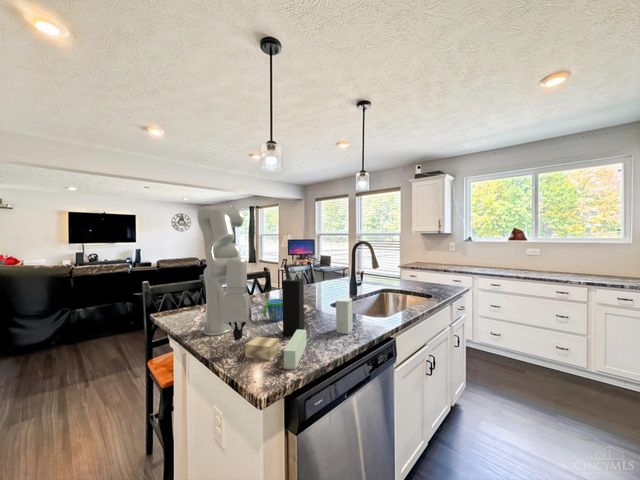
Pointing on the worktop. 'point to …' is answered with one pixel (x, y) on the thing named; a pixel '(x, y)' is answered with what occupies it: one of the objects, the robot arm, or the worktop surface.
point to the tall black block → (293, 305)
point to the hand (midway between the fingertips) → (238, 339)
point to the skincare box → (344, 315)
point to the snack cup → (274, 309)
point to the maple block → (262, 348)
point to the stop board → (295, 349)
